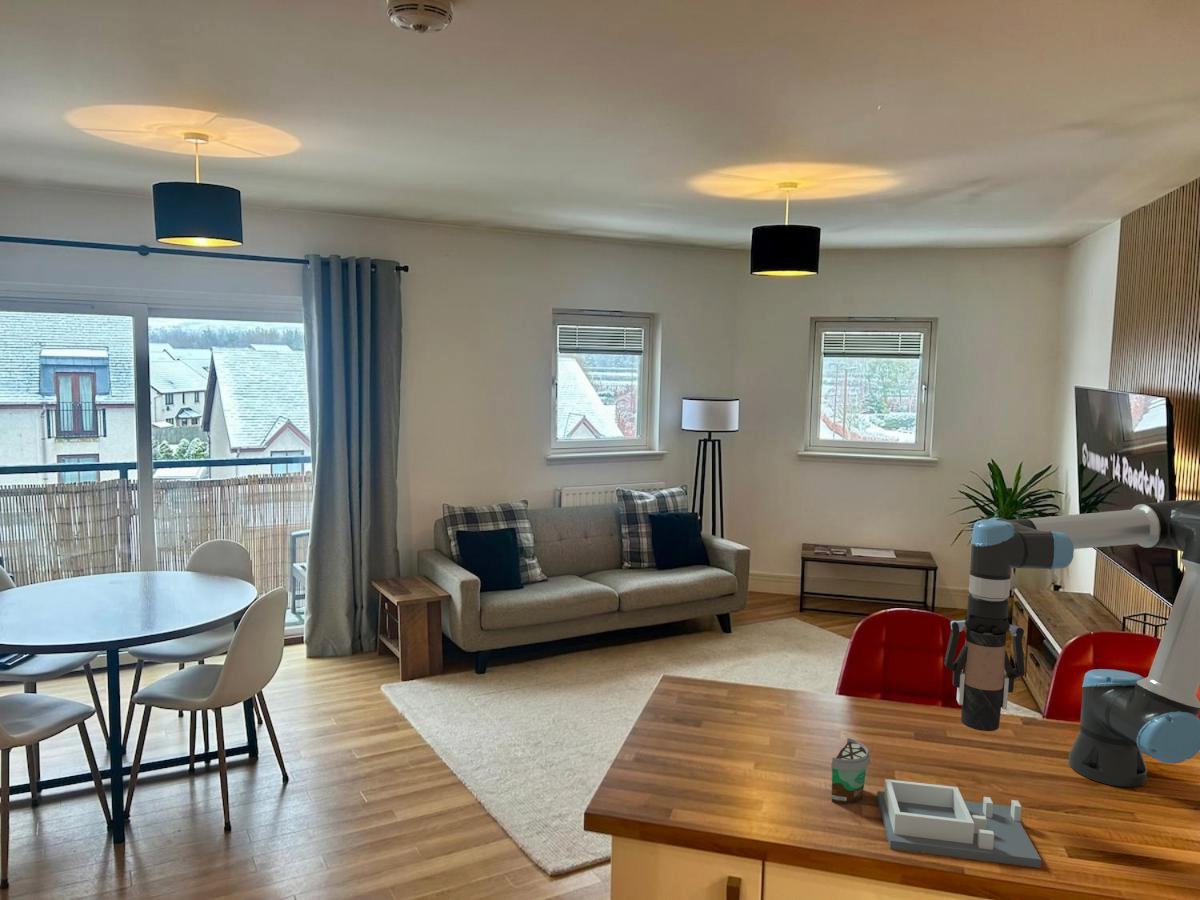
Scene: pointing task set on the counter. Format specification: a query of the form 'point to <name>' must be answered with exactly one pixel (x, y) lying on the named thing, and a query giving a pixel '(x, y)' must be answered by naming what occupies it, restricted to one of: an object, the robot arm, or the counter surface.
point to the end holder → (928, 824)
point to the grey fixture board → (1007, 835)
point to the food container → (849, 773)
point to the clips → (980, 822)
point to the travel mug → (983, 680)
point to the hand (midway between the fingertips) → (981, 704)
